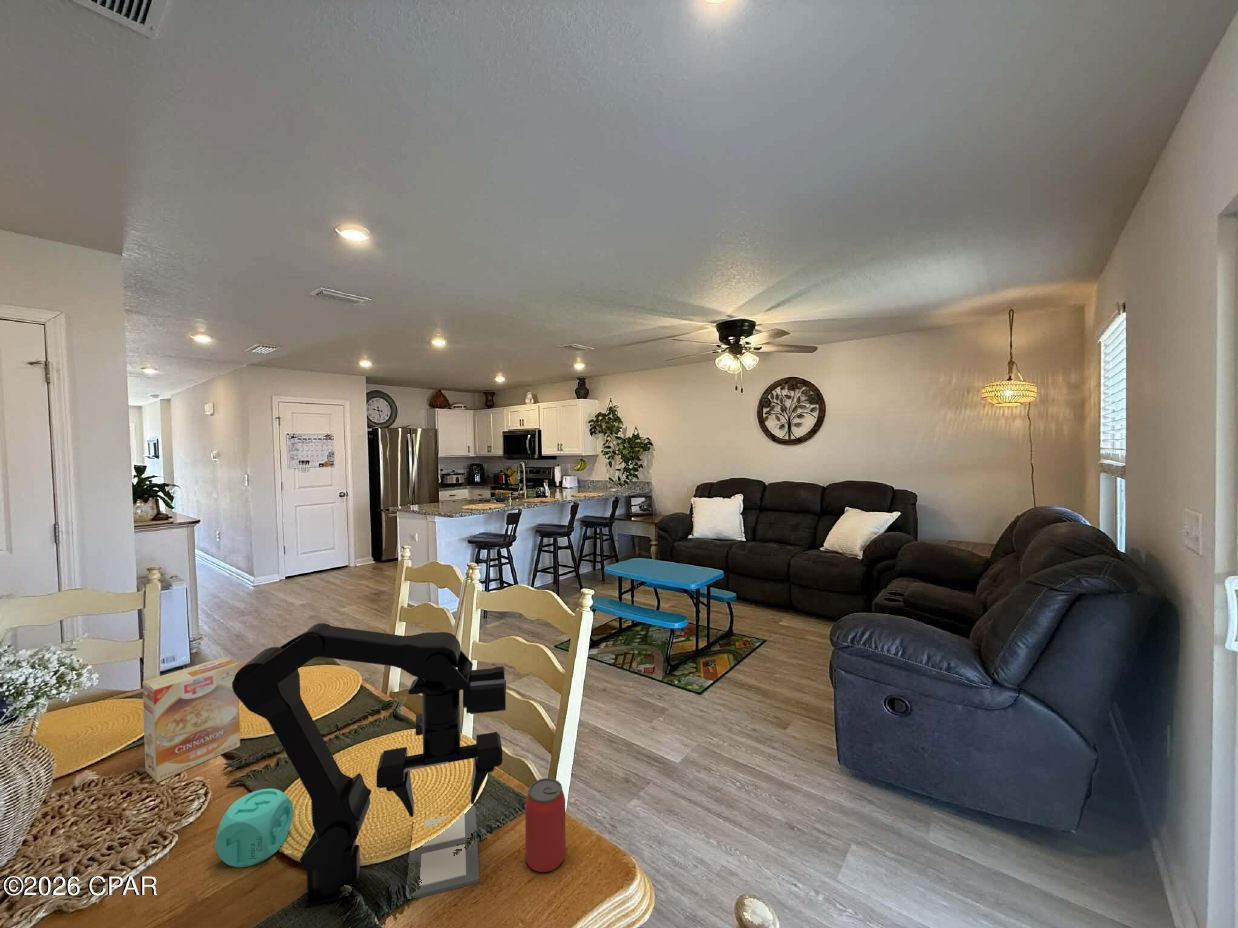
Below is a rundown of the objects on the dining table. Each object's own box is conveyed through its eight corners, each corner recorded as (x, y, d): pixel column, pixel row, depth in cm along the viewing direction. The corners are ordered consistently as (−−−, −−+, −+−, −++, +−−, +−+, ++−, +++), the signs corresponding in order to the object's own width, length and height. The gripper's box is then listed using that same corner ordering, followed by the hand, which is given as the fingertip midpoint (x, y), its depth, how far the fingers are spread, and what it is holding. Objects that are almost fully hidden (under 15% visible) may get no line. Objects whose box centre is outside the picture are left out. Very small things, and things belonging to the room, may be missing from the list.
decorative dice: (215, 869, 83) (213, 821, 82) (247, 831, 91) (246, 788, 90) (266, 867, 83) (265, 819, 83) (294, 829, 91) (293, 786, 91)
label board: (404, 901, 77) (404, 896, 77) (413, 821, 93) (413, 817, 93) (479, 882, 80) (479, 877, 80) (475, 808, 97) (475, 804, 97)
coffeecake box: (156, 783, 103) (152, 689, 103) (144, 771, 107) (140, 680, 106) (241, 746, 116) (239, 662, 115) (228, 736, 120) (225, 655, 119)
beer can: (558, 877, 81) (558, 805, 81) (519, 871, 83) (519, 799, 82) (570, 845, 88) (570, 778, 87) (533, 839, 89) (533, 773, 89)
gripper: (496, 683, 93) (497, 767, 93) (384, 699, 87) (386, 788, 88) (502, 715, 82) (503, 809, 83) (375, 735, 76) (377, 836, 77)
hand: (442, 808), depth 83 cm, fingers open, 9 cm apart
